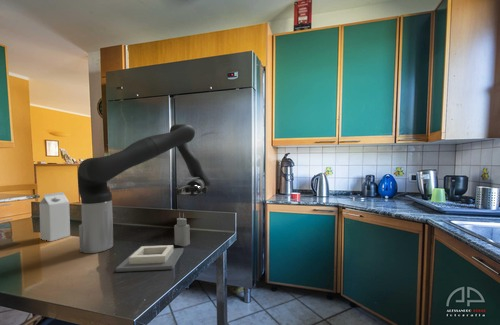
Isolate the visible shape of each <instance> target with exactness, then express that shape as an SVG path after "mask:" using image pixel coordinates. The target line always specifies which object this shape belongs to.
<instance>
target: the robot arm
mask: <svg viewBox="0 0 500 325" xmlns="http://www.w3.org/2000/svg"><path fill="white" fill-rule="evenodd" d="M195 134H196V131H195V128H194V127H193V126H192V125H190V124H186V123H177V124H174V125H172V126H171V127H170V129H169V132H165V133H160V134H159V133H158V134H154V135H149V136H146V137H143V138H141V139H138V140H136V141H135V142H132V143H130V145H128V146H126V148H124V149H122V150H120V151H117V152H115V153H112V154H108V155H103V156H101V157H100V156H99V157H89V158H86V159H84V160H82V161H81V162H80V163H79V165H78V168H77V187H78V194H79V198H80V201H81V202H80V203H81V207H80V208H81V224H79V225H78V232H79V233H78V235H79V237H78V238H79V241H78V242H79V253H84V254H96V253H101V252H104V251H108V250H110V249H111V248H112V247H113V246H114V225H113V223H114V222H113V221H114V220H113V194H112V192H111V190H109V187H108V182H109V181H110V180H112V179H113V178H115V177H116V176H118V175H121V174H122V173H124V172H126V171H127V170H129V169H130V168H133V167H136V166H138V165H141V164H143V163H145V162H147V161H151V160H153V159H154V158H156V157H158V156H160V155H162V154H164V153H166V152H168V151H170V150H172V149H174V148H177V150H178V151H179V154H180V155H181V157H182V159H183V160H184V162H185V164H186V168H187V169H188V172H189V175H190V177H192V178H194V179H192V180H190V181H189V182H187V184H185V186H177V187H175V188H174V195H177V196H180V195H189V196H191V197H197V196H199V195H200V194H206V193H208V188H210V186H211V180H210V179H209V177H208V176H207V174H206V173H205V172H204V170H203V168H202V165H201V162H200V160H199V158H198V156H196V154H195V153H194V152H193V151H192V149H191V148H190V146H189V145H188V143H190V142H191V141H192V140H194V138H195V136H196V135H195Z"/></svg>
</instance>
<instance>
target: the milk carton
mask: <svg viewBox="0 0 500 325" xmlns="http://www.w3.org/2000/svg"><path fill="white" fill-rule="evenodd" d="M38 205H39V230H40V231H39V234H40V235H39V236H40V240H41V239H42V240H43V241H46V240H47V241H48V242H54V241H57V240H60V239H64V238H67V237H71V222H70V221H71V219H70V216H71V215H70V201H69V199H68V197H67V196H66V195H65V192H64V191H62V192H54V193H53V192H52V193H44V194H43V198H42V199H41V201H40V202H39V203H38ZM47 241H46V242H47Z"/></svg>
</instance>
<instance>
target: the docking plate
mask: <svg viewBox="0 0 500 325" xmlns="http://www.w3.org/2000/svg"><path fill="white" fill-rule="evenodd" d="M183 252H184V247H178V248H177V247H176V248H175V247H174V245H173V244H172V245H171V244H170V245H169V244H168V245H144V246H143V245H142V246H140V247H139V248H138V249H136V250H134V252H132V253H131V254H129V256H128V257H127V258H126V259H124V260H123V261H122V262H121V263H120V264H119V265H118V266H116V268H115V272H116V273H119V272H122V273H123V272H139V271H141V272H142V271H144V272H145V271H158V270H159V271H161V270H163V271H165V270H173V269H174V267H175V266H176V264H177V263H178V261H179V259H180V258H181V256H182V254H183Z"/></svg>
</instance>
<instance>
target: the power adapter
mask: <svg viewBox="0 0 500 325" xmlns="http://www.w3.org/2000/svg"><path fill="white" fill-rule="evenodd" d="M184 214H185V213H184V212H182V217H181V212H180V211H179V214H178V215H179V217H178V218H176V224H175V225H174V226H173V227H174V228H173V229H174V245H175V246H180V247H187V246H189V245H190V244H191V240H190V239H191V237H190V236H191V235H190V224H187V218H186V217H185V215H184Z"/></svg>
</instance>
